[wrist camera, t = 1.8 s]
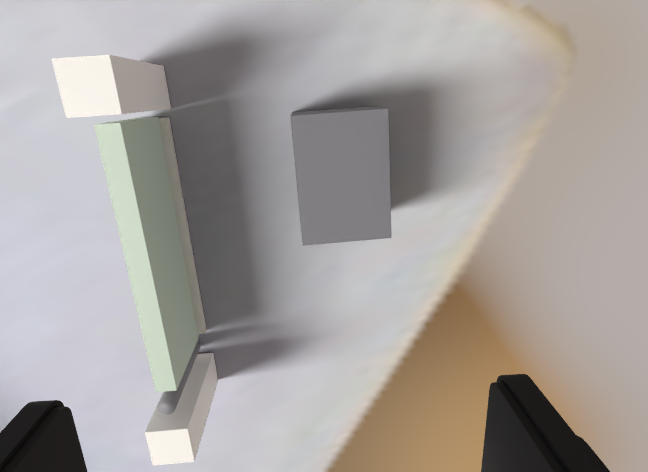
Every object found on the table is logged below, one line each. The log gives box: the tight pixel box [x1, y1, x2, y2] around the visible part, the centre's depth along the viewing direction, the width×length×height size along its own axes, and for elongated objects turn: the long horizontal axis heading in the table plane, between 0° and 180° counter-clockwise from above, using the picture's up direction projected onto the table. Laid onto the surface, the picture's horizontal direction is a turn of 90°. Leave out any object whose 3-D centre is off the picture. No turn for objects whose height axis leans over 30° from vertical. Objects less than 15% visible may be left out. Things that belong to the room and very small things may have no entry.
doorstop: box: [291, 106, 391, 245], centre depth 25 cm, size 7×5×5 cm
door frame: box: [52, 55, 218, 465], centre depth 25 cm, size 22×2×8 cm, turn 4°
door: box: [94, 117, 200, 415], centre depth 25 cm, size 16×1×6 cm, turn 4°
